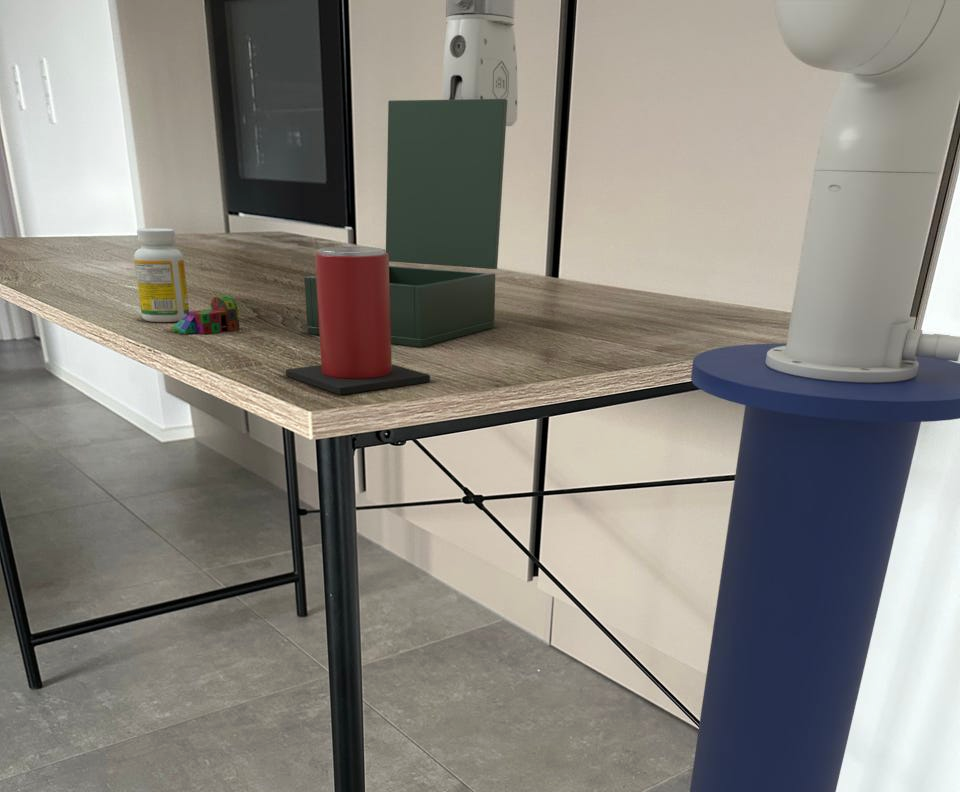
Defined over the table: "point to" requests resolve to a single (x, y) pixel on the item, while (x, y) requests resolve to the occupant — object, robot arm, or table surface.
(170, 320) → the supplement bottle
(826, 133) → the robot arm
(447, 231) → the bin lid
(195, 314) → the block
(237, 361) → the table surface
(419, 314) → the bin
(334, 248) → the can
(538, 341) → the table surface
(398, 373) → the mat
